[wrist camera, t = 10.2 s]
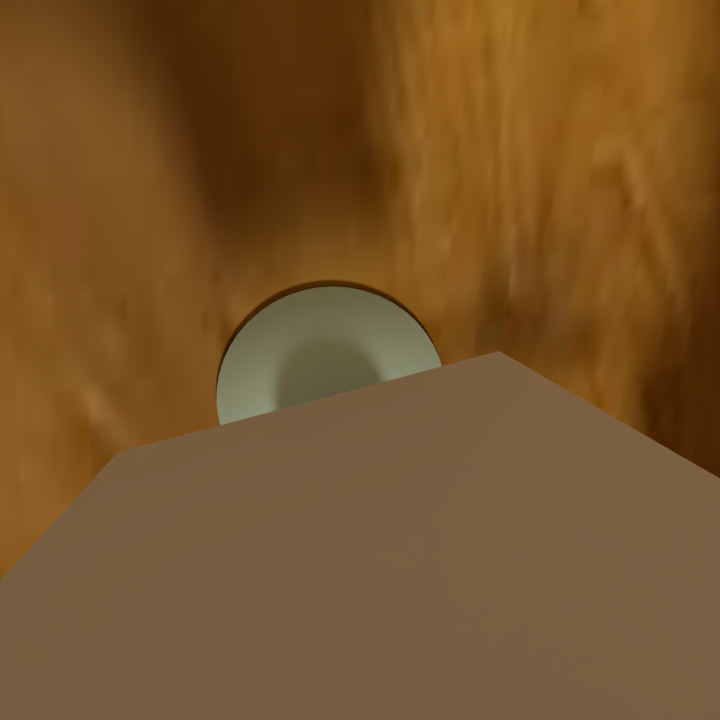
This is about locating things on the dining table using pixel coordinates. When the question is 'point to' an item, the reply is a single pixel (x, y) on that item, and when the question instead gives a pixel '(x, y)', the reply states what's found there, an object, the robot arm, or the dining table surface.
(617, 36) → the dining table surface
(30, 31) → the dining table surface
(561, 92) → the dining table surface
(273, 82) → the dining table surface
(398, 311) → the disc
